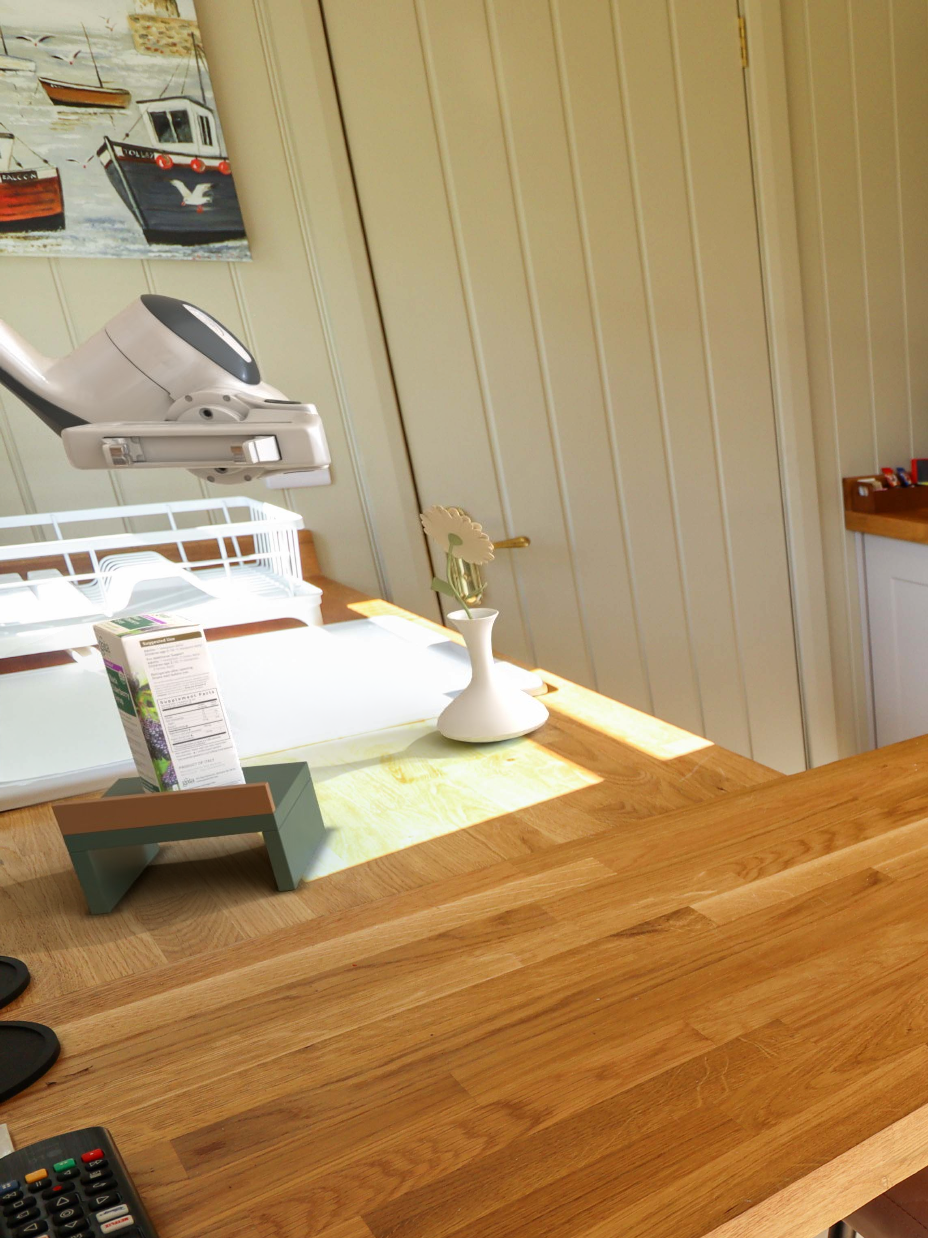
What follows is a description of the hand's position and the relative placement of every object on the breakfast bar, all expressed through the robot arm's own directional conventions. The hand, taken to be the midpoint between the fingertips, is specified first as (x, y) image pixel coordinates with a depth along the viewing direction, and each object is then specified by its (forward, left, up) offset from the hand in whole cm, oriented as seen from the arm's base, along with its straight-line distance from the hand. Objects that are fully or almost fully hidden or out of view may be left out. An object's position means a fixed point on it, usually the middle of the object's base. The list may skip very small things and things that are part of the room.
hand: (178, 455), depth 102 cm
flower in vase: (+19, +11, -32) cm, 39 cm away
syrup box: (0, -18, -25) cm, 31 cm away
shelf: (0, -19, -32) cm, 37 cm away
